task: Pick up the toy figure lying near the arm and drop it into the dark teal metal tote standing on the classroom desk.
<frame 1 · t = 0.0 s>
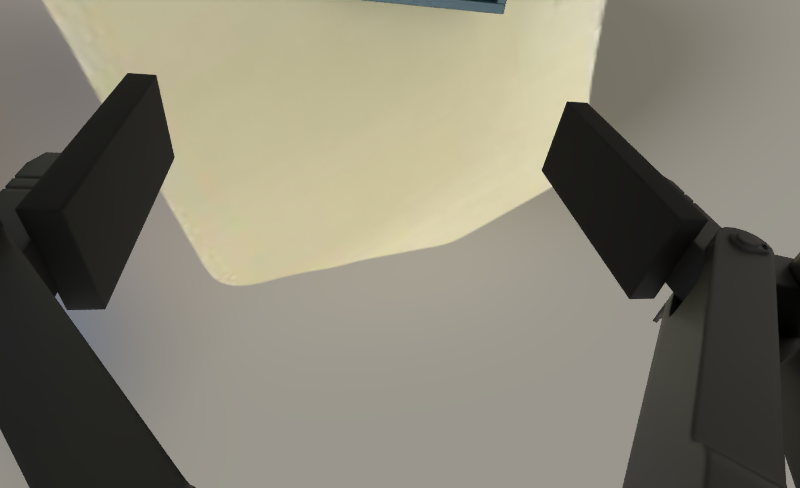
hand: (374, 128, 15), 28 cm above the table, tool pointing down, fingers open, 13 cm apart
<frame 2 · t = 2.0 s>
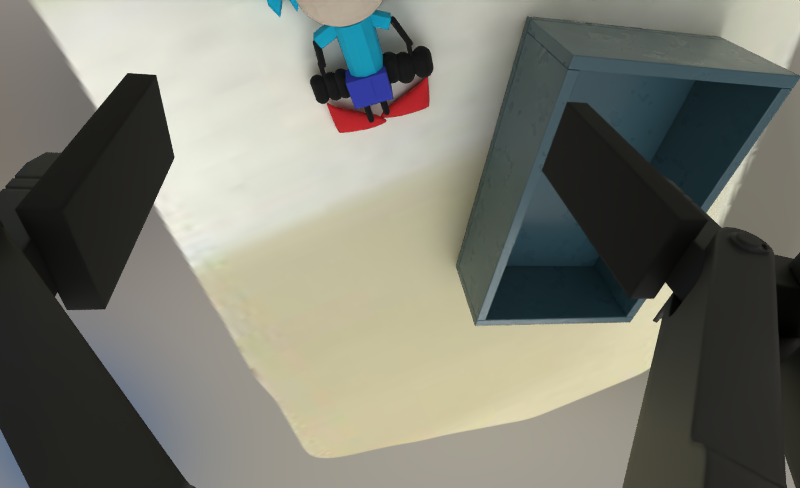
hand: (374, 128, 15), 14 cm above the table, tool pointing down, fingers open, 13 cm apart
tote: (568, 169, 35), on the table
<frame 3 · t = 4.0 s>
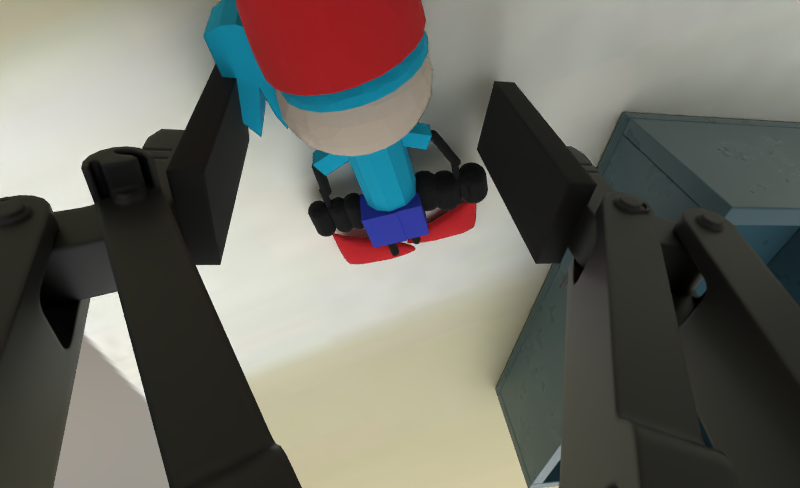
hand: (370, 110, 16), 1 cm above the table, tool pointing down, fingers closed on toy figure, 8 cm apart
toy figure: (360, 98, 17), on the table, touching gripper
tote: (649, 284, 26), on the table
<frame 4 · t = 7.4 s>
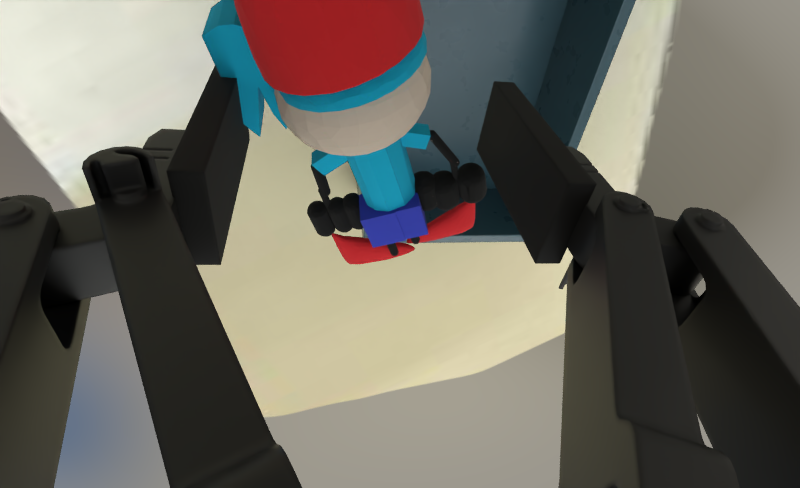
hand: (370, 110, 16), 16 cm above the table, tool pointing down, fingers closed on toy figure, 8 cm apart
toy figure: (359, 98, 17), point 15 cm above the table, touching gripper
tote: (459, 69, 32), on the table
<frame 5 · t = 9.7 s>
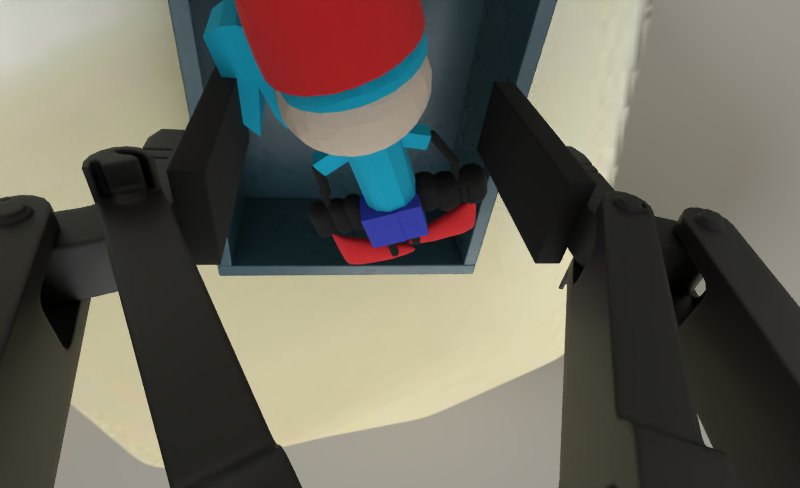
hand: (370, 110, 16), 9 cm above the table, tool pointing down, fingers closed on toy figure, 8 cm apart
toy figure: (360, 98, 17), point 8 cm above the table, touching gripper
tote: (355, 34, 23), on the table
when the fingers open (6 cm above the table, at t = 11.8 s): toy figure stays where it is, resting on tote.
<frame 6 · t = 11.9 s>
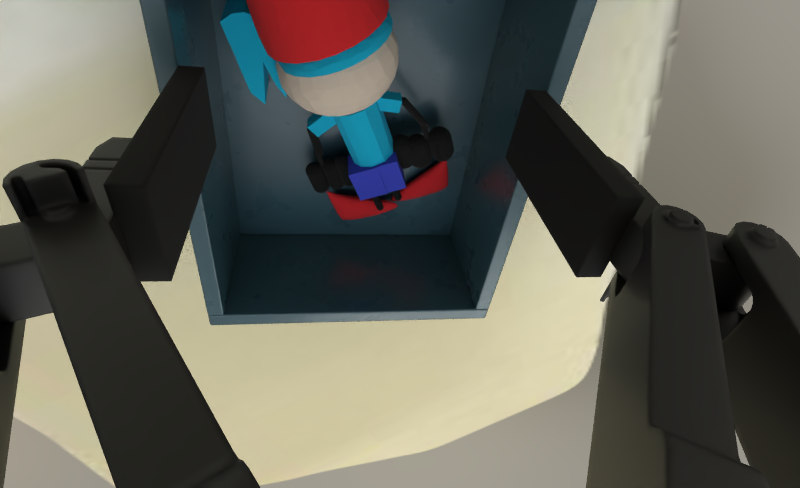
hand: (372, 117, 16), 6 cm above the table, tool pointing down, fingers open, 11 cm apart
toy figure: (345, 74, 21), resting on tote
tote: (358, 63, 21), on the table
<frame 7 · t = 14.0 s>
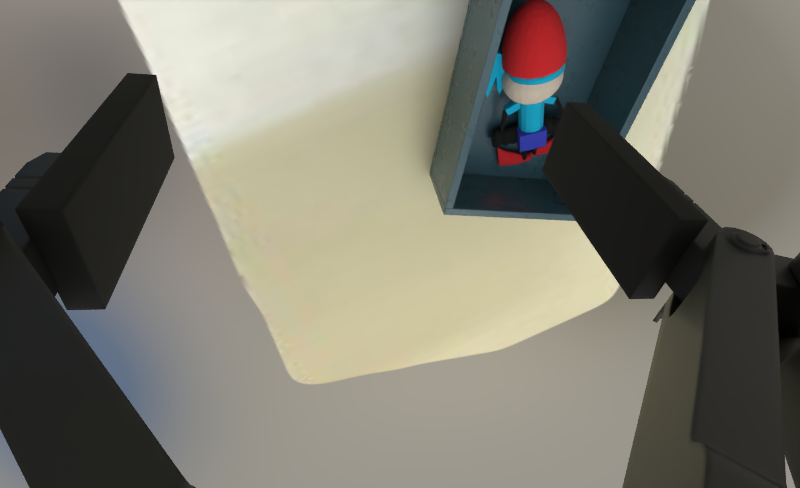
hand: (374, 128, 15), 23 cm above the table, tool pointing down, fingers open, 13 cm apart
toy figure: (521, 83, 39), resting on tote
tote: (527, 77, 39), on the table
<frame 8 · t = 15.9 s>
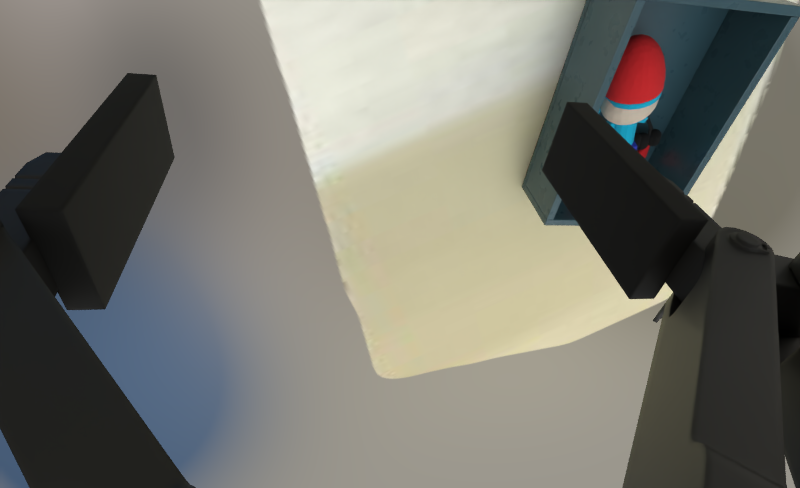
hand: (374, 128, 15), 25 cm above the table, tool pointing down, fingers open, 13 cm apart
toy figure: (613, 104, 43), resting on tote
tote: (618, 98, 43), on the table
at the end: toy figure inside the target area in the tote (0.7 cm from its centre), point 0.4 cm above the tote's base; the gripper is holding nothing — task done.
